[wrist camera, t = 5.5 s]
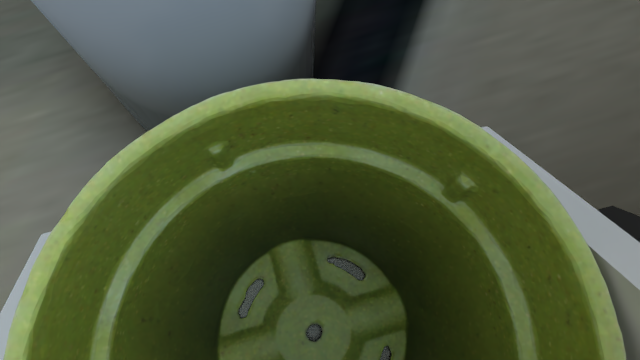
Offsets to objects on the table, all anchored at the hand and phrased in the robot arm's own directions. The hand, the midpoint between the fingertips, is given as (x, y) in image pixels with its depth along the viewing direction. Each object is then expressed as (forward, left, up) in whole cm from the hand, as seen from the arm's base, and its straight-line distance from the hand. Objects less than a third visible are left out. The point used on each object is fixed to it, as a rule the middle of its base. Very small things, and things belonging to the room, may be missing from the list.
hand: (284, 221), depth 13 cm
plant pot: (0, +3, -4) cm, 5 cm away
